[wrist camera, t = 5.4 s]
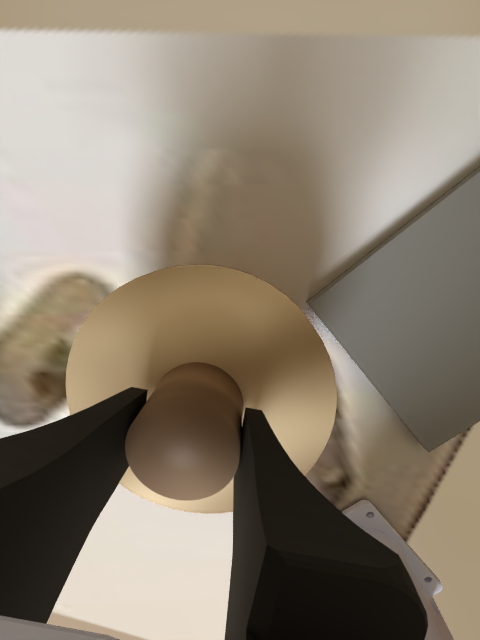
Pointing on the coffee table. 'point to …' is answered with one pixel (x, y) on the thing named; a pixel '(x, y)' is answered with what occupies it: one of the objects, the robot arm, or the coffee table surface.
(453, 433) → the mat
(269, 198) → the coffee table surface
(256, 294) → the lid
